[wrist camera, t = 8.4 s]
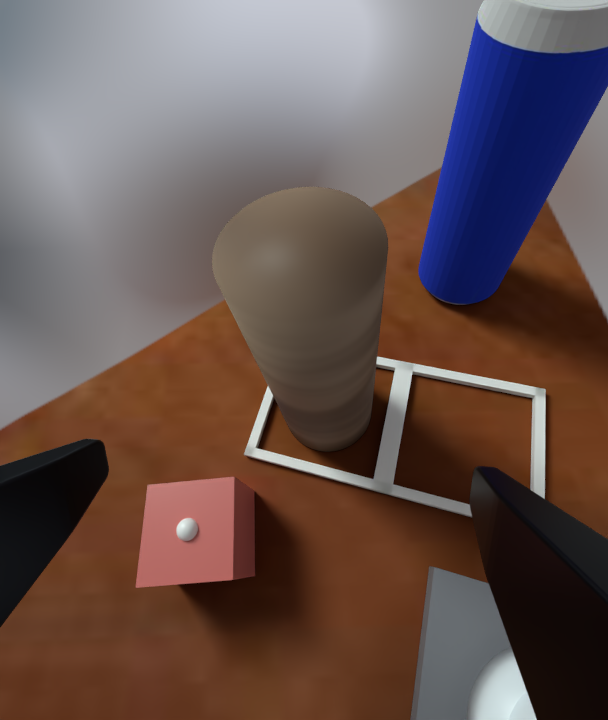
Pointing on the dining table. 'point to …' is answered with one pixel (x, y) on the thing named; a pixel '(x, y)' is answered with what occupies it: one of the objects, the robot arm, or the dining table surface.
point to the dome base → (454, 644)
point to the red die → (197, 533)
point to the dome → (500, 692)
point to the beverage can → (511, 136)
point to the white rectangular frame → (394, 432)
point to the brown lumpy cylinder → (309, 305)
